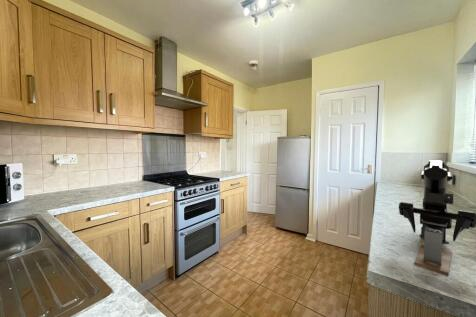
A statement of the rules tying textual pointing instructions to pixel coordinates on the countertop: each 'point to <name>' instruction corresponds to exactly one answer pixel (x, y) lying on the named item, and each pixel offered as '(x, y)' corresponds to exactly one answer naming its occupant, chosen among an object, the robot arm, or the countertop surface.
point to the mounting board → (438, 268)
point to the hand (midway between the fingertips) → (433, 236)
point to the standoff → (433, 245)
